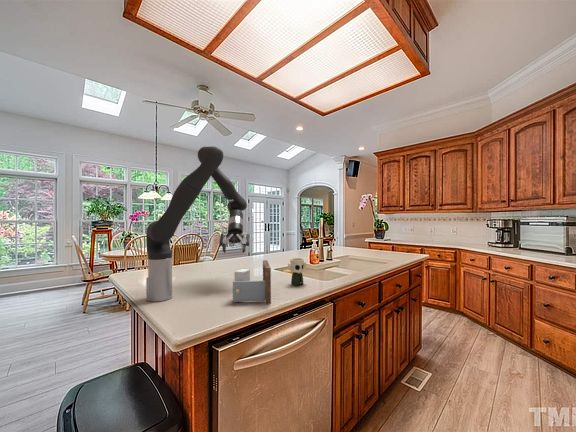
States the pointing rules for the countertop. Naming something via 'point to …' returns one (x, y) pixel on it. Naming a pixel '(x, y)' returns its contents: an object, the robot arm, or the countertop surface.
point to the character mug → (297, 270)
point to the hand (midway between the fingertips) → (233, 251)
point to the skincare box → (242, 275)
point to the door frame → (267, 280)
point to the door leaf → (249, 291)
